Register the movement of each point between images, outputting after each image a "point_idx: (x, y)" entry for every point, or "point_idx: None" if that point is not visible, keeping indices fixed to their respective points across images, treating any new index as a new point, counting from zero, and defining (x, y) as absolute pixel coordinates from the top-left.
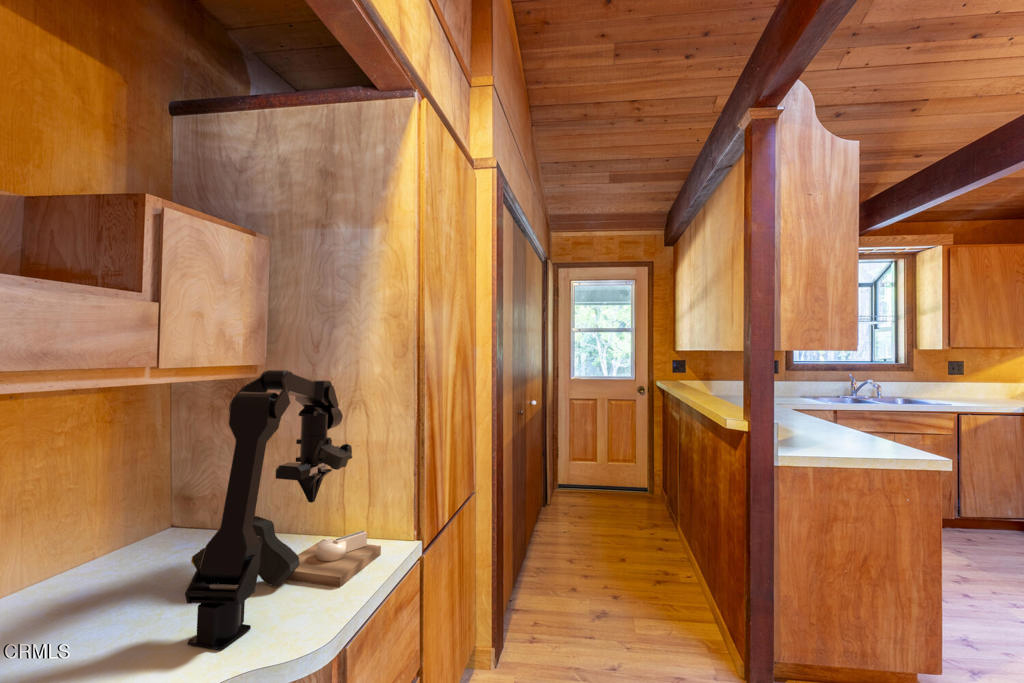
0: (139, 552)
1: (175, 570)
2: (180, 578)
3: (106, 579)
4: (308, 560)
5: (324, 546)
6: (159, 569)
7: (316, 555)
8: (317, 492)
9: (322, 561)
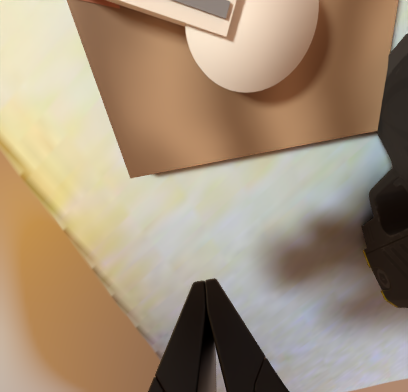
0: (304, 383)
1: (354, 308)
2: None
3: (398, 343)
4: (298, 81)
5: (290, 29)
6: (354, 326)
7: None
8: (178, 330)
9: None
